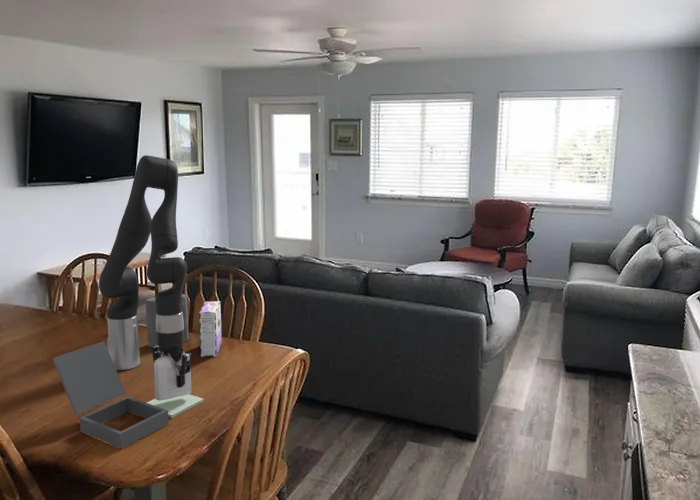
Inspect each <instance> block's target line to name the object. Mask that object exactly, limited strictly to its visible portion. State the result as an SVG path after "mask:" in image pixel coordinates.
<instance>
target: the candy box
mask: <svg viewBox="0 0 700 500" xmlns="http://www.w3.org/2000/svg"><path fill="white" fill-rule="evenodd" d="M221 306H222V305H221V301H220V300H219V301H204V302H203V305H202V306H201V309H200V310H199V313H198V319H199V320H198V321H199V345H200V349H199V351H200V358H204V357H205V358H207V357H209V358H210V357H212V358H216V357H217V356H218V354H219V351H220V348H221V346H222V344H223V339H222V334H223V333H222V313H221V312H222V311H221Z"/></svg>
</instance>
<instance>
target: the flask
mask: <svg viewBox="0 0 700 500" xmlns="http://www.w3.org/2000/svg"><path fill="white" fill-rule="evenodd" d="M164 290H165V289H162V290H161V291H164ZM187 297H188V295H187V294H185V293H182V313H183V319H184V339H185V341H184V343H185V342H188V341H189V339H190V338H189V316H188V315H189V314H188V298H187ZM145 316H146V333H147V347H149V348H150V349H151V348H152V347H154V346H156V345H157V339H156V303H155V296H153V297H149V298H146V299H145Z"/></svg>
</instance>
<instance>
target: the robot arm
mask: <svg viewBox="0 0 700 500" xmlns="http://www.w3.org/2000/svg"><path fill="white" fill-rule="evenodd" d="M132 181H133V182H132V186H131V189H130V194H129V197H128V201H127V204H126V207H125V209H124V212H123V215H122V218H121V221H120V222H119V223H120V224H119V227H118V230H117V234H116V236H115V239H114V240H115V241H114V243H113V244H112V248H111V251H110V253H109V256H108V258H107V260H106V263H105V265H104V267H103V269H102V271H101V273H100V275H99V281H98V288H99V292H100V294H101V295H102V296H103V298H107V299H115V298H116V300H115V302H113V303H112V304H111V305H110V306H108V307H107V310H106V315H107V316H106V317H107V319H106V320H107V321H106V322H107V332H108V333H107V334H108V337H107V339H106V340H107V341H106V342H107V349H108V351H109V354H110V356H111V359H112V361H113V363H114V366H115V368H116V371H127V370H130V369H134V368H137V367H138V366H139V365H140V364H141V361H140V359H141V358H140V341H139V340H140V339H139V326H138V325H139V324H138V308H139V302H140V301H139V297H140V296H139V295H140V294H139V277H138V274H137V273H136V271H135V270H134V268H133V267H130V266H129V264H130V263H131V262H132V261H133V259H135V258H136V257H137V256H138V255H139V253H141V251H143V249H144V248H145V246H147V243H148V241H149V239H150V240H151V249H150V250H151V251H150V255H149V260H148V263H147V267H146V277H147V279H148V281H149V282H150V283H151V284H154V285H163V284H164V285H165V284H173V285H172V286H171V287H170V288H168V289H163V290H164V291H162V290H161V291H159V292H157V293H156V294H155V296H154V297H155V303H156V339H157V345H156V346H154V347H152V348H151V347H150V349H151V354H152V360H153V361H152V362H153V363H154V362H155V360H157V359H159V358H161V357H165V356H168V358H169V359H170V361H171V364H172V367H173V368H174V369H175V371H176V374H177V375H176V379H177V387H178V388H181V387H183V386H184V385H185V374H187V373H189V372H190V370H191V368H192V367H191V366H192V353H191V352H189V353H187V352H185V351H184V348H183V346H184V343H185V342H184V341H185V339H184V319H183V313H182V294H183V288H184V285H185V281H186V279H187V278H186V277H187V275H188V274H187V273H188V264H187V262H186V261H185V259H183V258H182V257H179V256H175V257H174V256H172V257H163V256H165V255H170V254H172V253H174V252H176V251H177V249H178V246H179V242H178V241H179V240H178V232H177V231H178V230H177V206H178V205H177V203H178V189H179V188H178V185H179V170H178V166H177V163H176V162H175V161H174V160H173V159H168V158H164V157H159V156H153V155H149V154H147V155H146V154H144V155H143V156H141V158H139V161H138V162H137V165H136V168H135V172H134V177H133V180H132ZM149 188H151V189H156V190H162V191H163V193H164V195H163V196H164V197H163V200H162V202H161V204H160V206H159V207H158V209H157V210H156V212H155V213H154V215H153V217H152V215H151V213H150V211H149V208H148V205H147V203H146V199H145V195H146V190H147V189H149ZM180 359H181V361H182V362H181V363H179V364H176V363H177V362H178V361H180ZM179 366H181V370H179Z"/></svg>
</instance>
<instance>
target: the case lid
mask: <svg viewBox="0 0 700 500" xmlns="http://www.w3.org/2000/svg"><path fill="white" fill-rule="evenodd" d="M52 362H53V364H54V366H55V369H56V371H57V374H58V376H59V378H60V381H61V383H62V386H63V388H64V391H65V392H66V396H67V399H68V400H69V404H70V406H71V408H72V411H73V413H74V416H77V415H79V414H82V413H85V412H87V411H89V410H91V409H94V408H96V407H98V406H100V405H103V404H106V403H107V402H109V401H112V400H114V399H117V398H119V397H122V396H124V395H126V390H125V388H124V385H123V383H122V380H121V378H120V376H119V374H118V370H116V368H115V366H114V363H113V361H112V359H111V356H110V354H109V351H108V346H107V345H106V341H105V340H103V341H100V342H98V343H94V344H92V345H88V346H84V347H81V348H79V349H76V350H73V351H69V352H66V353H63V354H60V355H57V356H55V357H53V358H52Z"/></svg>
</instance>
